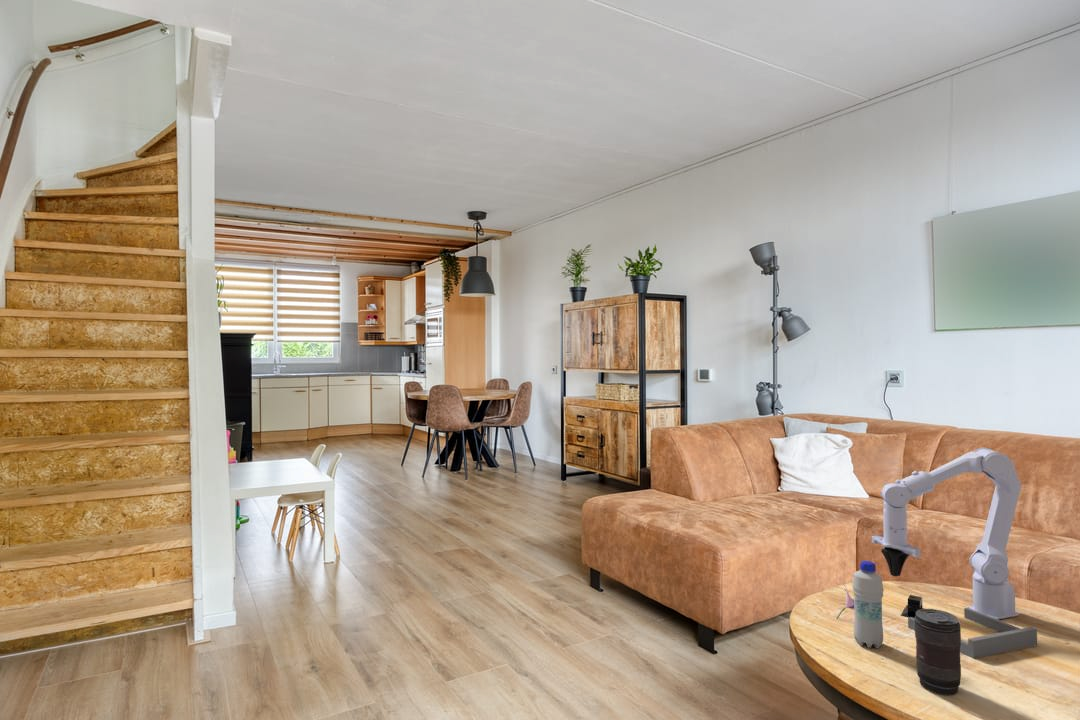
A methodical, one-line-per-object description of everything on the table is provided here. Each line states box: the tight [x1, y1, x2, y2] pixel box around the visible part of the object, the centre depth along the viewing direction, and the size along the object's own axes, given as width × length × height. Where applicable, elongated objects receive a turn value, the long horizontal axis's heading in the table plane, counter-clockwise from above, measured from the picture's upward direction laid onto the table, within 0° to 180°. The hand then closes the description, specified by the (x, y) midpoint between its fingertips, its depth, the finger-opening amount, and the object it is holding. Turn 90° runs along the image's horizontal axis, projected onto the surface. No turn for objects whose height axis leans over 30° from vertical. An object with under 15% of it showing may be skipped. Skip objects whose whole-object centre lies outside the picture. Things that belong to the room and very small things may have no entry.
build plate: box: [900, 594, 925, 619], centre depth 165 cm, size 12×7×5 cm, turn 140°
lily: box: [836, 577, 854, 620], centre depth 161 cm, size 12×12×10 cm
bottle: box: [851, 560, 885, 649], centre depth 147 cm, size 7×7×20 cm
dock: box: [907, 607, 1038, 659], centre depth 150 cm, size 20×17×4 cm
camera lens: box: [914, 608, 962, 696], centre depth 127 cm, size 8×8×15 cm
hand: (895, 575), depth 171 cm, fingers closed
